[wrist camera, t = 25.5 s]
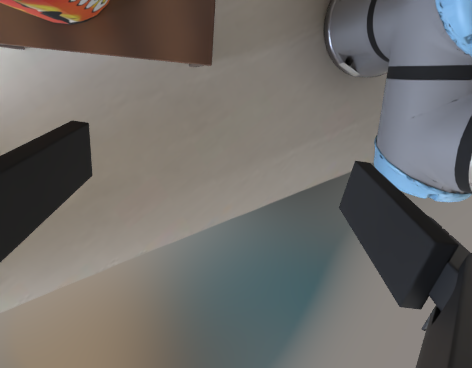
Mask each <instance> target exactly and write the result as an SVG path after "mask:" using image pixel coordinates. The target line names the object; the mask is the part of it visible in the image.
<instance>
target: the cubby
mask: <svg viewBox="0 0 472 368" xmlns="http://www.w3.org/2000/svg"><path fill="white" fill-rule="evenodd" d="M214 16H215V0H110V1H109V3H108V5H107V6H106V7H105V8H104V9H103V10H102V11H101V12H100V13H99V15H97V16H96V17H94V18H92V19H90V20H88V21H86V22H83V23H77V24H72V25H70V24H59V23H54V22H51V21H48V20H45V19H43V18H40V17H37V16H34V15H32V14H29V13H26V12H24V11H21V10H18V9H16V8H13V7H10V6H8V5H5V4H2V3H0V47H6V48H13V49H23V50H25V47H32V48H41V49H51V50H61V51H70V52H80V53H90V54H100V55H109V56H119V57H129V58H139V59H148V60H158V61H168V62H178V63H187V64H189V66H191V67H199V66H204V65H207V66H211V65H212V50H213V33H214Z"/></svg>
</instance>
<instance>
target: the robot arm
mask: <svg viewBox="0 0 472 368" xmlns="http://www.w3.org/2000/svg"><path fill="white" fill-rule="evenodd" d="M324 37H325V44H326V48H327V51H328V53H329V55H330V57H331V59H332V61H333V62H334V63H335V65H336V66H337V67H338V68H339V69H341V70H342V71H343V72H345V73H347V74H349V75H352V76H356V77H375V76H380V75H383V74H385V73H387V72H388V73H387V78H386V85H385V91H384V97H383V104H382V110H381V116H380V123H379V129H378V135H377V136H376V138H375V142H374V144H375V156H374V166H375V167H374V166H373V165H372V164H371V163H367V162H360V161H355V163H354V166H353V169H352V172H351V175H350V178H349V180H348V183H347V186H346V189H345V192H344V195H343V197H342V201H341V203H340V206H339V208H340V210H341V212H342V213H343V215H344V217H345V218H346V220H347V221H348V223H349V225H350V227H351V228H352V230H353V231H354V233H355V235H356V236H357V238H358V240H359V241H360V243H361V244H362V246H363V248H364V249H365V251H366V253H367V254H368V256H369V258H370V259H371V261H372V262H373V264H374V266H375V267H376V269H377V270H378V272H379V274H380V275H381V277H382V279H383V280H384V282H385V284H386V285H387V287H388V289H389V290H390V292H391V293H392V295H393V297H394V298H395V300H396V302H397V303H398V305H399V306H400V307H405V308H413V309H422V307H423V305H424V304H425V302H426V300H427V299H428V297H429V296H430V297H431V298H432V300H433V301H434V303H435V304H436V306H435V308H434V309H433V311H432V313H431V314H430V316H429V318H428V319H427V321H426V322H425V324H424V326H423V327H422V330H424V331H426V333H425V337H424V340H423V344H422V348H421V351H420V355H419V358H418V362H417V365H416V368H472V253H470V252H469V251H468V250H467V249H466V248H465V247H463V246H462V245H461V244H460V243H459V242H458V241H457V240H456V239H455V238H454V237H453V236H451V235H449V233H448V232H447V231H446V230H445V229H442V227H441V226H440V225H439V224H438V223H437V222H436V221H435V220H434V219H432V218H430V217H429V216H427V215H426V214H425V213H424V212H423V211H422V210H421V209H419V208H418V207H417V206H416V205H415V204H414V203H413V202H412V201H411V200H410V199H409V198H407V197H406V196H405V195H404V194H403V193H402V192H401V191H403V192H406V193H408V194H410V195H413V196H417V197H420V198H424V199H425V198H427V197H429V198H432V199H433V200H435V201H442V202H458V201H462V200H464V199H467V198H469V197H470V196H471V195H472V0H331V2H330V4H329V7H328V10H327V13H326V18H325V24H324ZM91 176H92V163H91V149H90V135H89V123H85V122H78V121H70V122H68V123H66V124H64V125H62V126H60V127H58V128H56V129H54V130H52V131H50V132H48V133H46V134H44V135H42V136H40V137H38V138H36V139H34V140H32V141H30V142H28V143H26V144H24V145H22V146H20V147H18V148H16V149H14V150H12V151H10V152H8V153H5V154H3V155H1V156H0V262H1V261H2V260H3V259H4V258H6V257H7V256H8V255H9V254H10V253H11V252H12V251H13V250H14V249H15V248H16V247H17V246H18V245H19V244H20V243H21V242H22V241H24V240H25V239H26V238H27V237H28V236H29V235H30V234H31V233H32V232H33V231H34V230H35V229H36V228H37V227H38V226H39V225H40V224H41V223H43V222H44V221H45V220H46V219H47V218H48V217H49V216H50V215H51V214H52V213H53V212H54V211H55V210H56V209H57V208H58V207H59V206H61V205H62V204H63V203H64V202H65V201H66V200H67V199H68V198H69V197H70V196H71V195H72V194H73V193H74V192H75V191H76V190H77V189H79V188H80V187H81V186H82V185H83V184H84V183H85V182H86V181H87V180H88V179H89V178H90V177H91ZM400 190H401V191H400Z"/></svg>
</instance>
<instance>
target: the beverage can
mask: <svg viewBox="0 0 472 368" xmlns="http://www.w3.org/2000/svg"><path fill="white" fill-rule="evenodd" d="M109 1H110V0H0V3H2V4H5V5H8V6H10V7H13V8H16V9H18V10H21V11H24V12H26V13H29V14H32V15H34V16H37V17H40V18H43V19H45V20H48V21H51V22H54V23H59V24H70V25H72V24H77V23H83V22H86V21H88V20H90V19H92V18H94V17H96V16H97V15H99V13H100V12H101V11H102V10H103V9H104V8H105V7H106V6H107V5H108V3H109Z"/></svg>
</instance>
